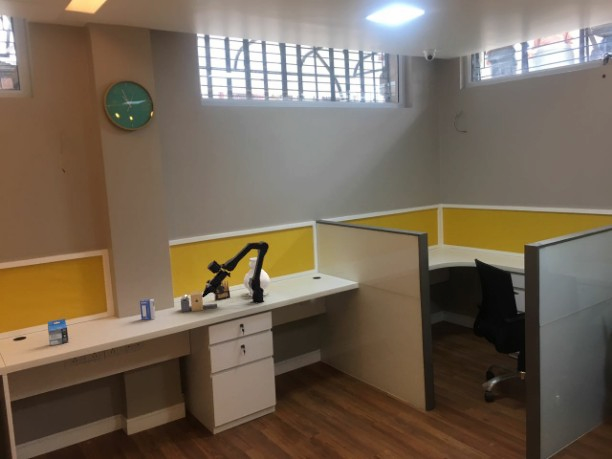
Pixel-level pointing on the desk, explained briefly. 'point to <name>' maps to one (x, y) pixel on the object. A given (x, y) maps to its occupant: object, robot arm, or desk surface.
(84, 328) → the desk surface
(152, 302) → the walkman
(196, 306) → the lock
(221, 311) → the desk surface
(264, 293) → the decorative vase
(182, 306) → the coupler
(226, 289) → the ammunition clip
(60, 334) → the label tape cartridge
